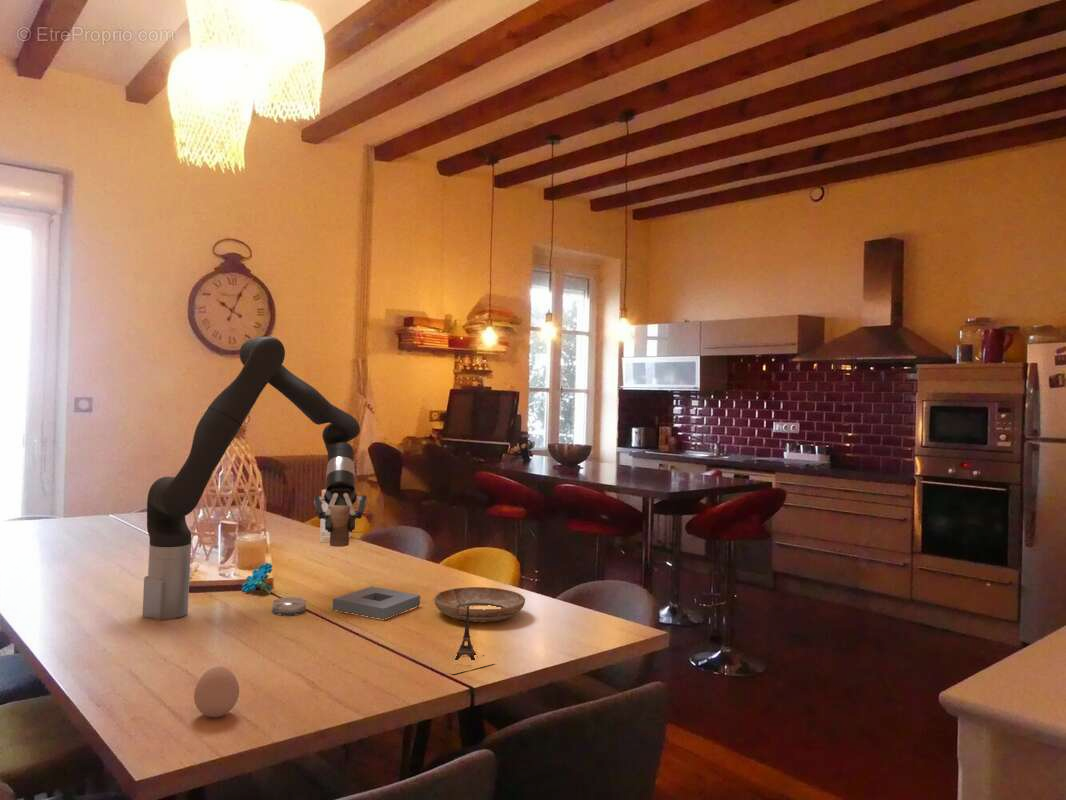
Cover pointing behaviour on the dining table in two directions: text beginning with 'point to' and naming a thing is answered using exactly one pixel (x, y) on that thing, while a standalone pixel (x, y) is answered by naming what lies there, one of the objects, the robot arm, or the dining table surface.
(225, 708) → the egg
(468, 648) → the eiffel tower figurine
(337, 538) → the peg
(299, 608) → the pedestal
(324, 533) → the coffeecake box
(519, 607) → the ceramic bowl
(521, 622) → the dining table surface
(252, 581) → the blue flower cluster
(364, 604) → the hub block
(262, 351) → the robot arm
